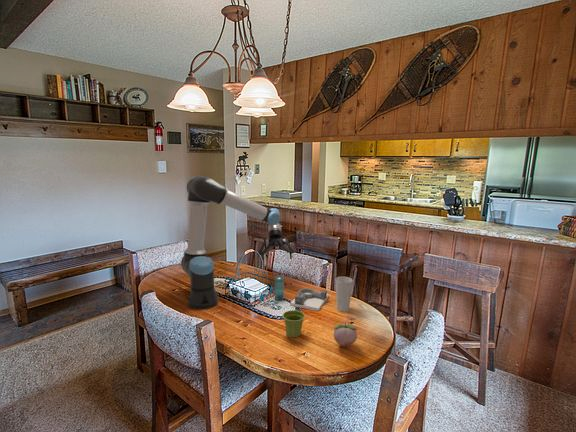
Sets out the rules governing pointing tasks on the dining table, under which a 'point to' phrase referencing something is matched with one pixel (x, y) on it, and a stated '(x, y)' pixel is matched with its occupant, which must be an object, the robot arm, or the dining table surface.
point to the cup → (343, 293)
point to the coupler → (279, 288)
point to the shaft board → (310, 299)
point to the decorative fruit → (345, 334)
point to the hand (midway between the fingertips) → (277, 264)
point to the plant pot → (293, 322)
